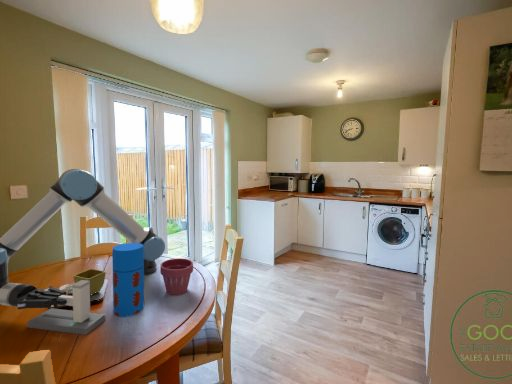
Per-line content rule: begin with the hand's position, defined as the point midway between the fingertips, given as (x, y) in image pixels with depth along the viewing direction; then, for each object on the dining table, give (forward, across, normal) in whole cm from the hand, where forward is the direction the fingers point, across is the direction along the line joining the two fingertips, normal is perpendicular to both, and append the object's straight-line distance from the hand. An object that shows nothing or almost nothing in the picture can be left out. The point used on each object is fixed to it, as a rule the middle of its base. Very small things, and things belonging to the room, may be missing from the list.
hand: (76, 301), depth 93 cm
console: (-4, 0, -8) cm, 9 cm away
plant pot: (+22, -31, -9) cm, 39 cm away
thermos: (+11, -13, -9) cm, 19 cm away
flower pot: (-13, -21, -9) cm, 26 cm away
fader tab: (+2, 0, -6) cm, 6 cm away
